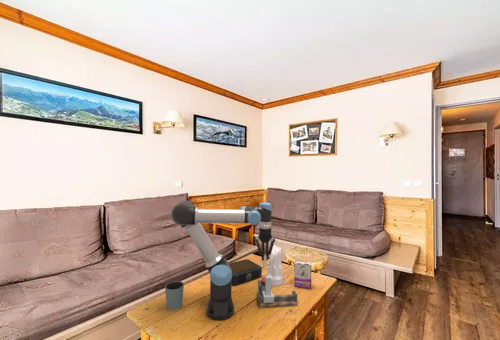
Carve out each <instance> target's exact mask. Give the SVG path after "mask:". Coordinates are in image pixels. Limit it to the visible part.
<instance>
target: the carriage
mask: <svg viewBox="0 0 500 340" xmlns="http://www.w3.org/2000/svg"><path fill="white" fill-rule="evenodd" d="M264 276H265V291H262V296H263V303H274V293H273V291H272V285H271V276H268V275H264Z"/></svg>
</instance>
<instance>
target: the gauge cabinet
mask: <svg viewBox="0 0 500 340" xmlns="http://www.w3.org/2000/svg"><path fill="white" fill-rule="evenodd" d="M262 291H265V284H263V283H262V279H261V280H260V279H258V280H257V293H258V292H260V295H261V296H262Z"/></svg>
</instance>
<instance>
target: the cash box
mask: <svg viewBox="0 0 500 340" xmlns="http://www.w3.org/2000/svg"><path fill="white" fill-rule="evenodd" d="M228 263H229V266H230V268H231V271H232V287H236V286H239V285H242V284H245V283H248V282H252V281H254V280H257V279H258V280H259V279H260V278H261V279H262V276H263V267H262V266H261V265H259V264H257V263H255V262H254V261H252V260H250V259H248V258H245V259H242V260H241V259H240V260H238V261H233V262H228Z"/></svg>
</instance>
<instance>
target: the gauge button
mask: <svg viewBox="0 0 500 340" xmlns="http://www.w3.org/2000/svg"><path fill="white" fill-rule="evenodd" d="M265 276H266V275H262V277H261V280H262V283H263V284H265Z"/></svg>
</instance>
